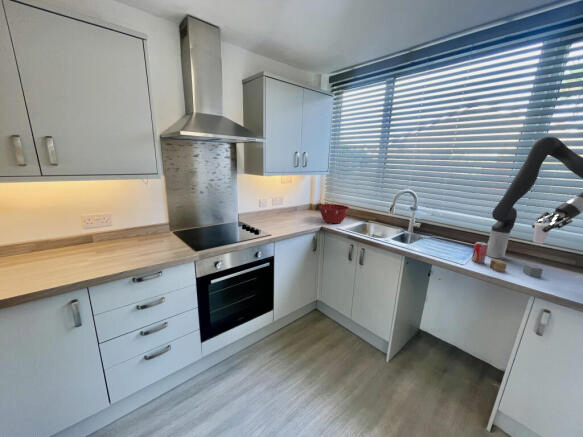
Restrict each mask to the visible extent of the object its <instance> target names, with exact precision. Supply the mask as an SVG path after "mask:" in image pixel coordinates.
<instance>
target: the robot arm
mask: <svg viewBox="0 0 583 437" xmlns="http://www.w3.org/2000/svg"><path fill="white" fill-rule="evenodd" d="M548 156H549V157H552V158H555V159H556V160H558V161H559V162H560V163H562V164H563V165H564V166H565V167H566V168H567V169H568V170H569V171H570V172H571V173H573V174H574V175H576V176H578V177H579V178H581V179H582V180H583V157H582V156H581V155H579V154H577V153H576V152H575V151H573V150H571V149H570V148H569V147H568V146H567V145H566V144H565V143H563V142H562V141H561V140H560V139H559V138H558V137H555V136H542V137H539V138H538V139H537V140H535V141H534V143H533V144H532V145H531V148H530V150H529V153H528V154H527V156H526V159H525V161H524V162H523V163H522V165H521V167H520V168H519V169H518V172H517V173H516V175H515V177H514V178H513V180H512V181H511V183H510V184H509V187H508V188H507V190H506V192H505V193H504V195H503V197H502V198H501V200H500V201H499V202H498V204H496V206H495V207H494V208H493V210H492V213H491V216H492V218H493V219H494V220H495V221H496V223H495V224H493V225H492V226H491V230H490V234H489V239H488V242H487V243H486V244H487V246H488V248H487V252H486V256H487V257H489V258H491V259H496V260H503V259H505V254H506V252H507V247H508V244H509V240H510V235H511V231H512V229H513V228H514V227H515V224H516V220H517V216H518V212H517V209H516V208H515V207H514V206H515V205H516V203H517V202H518V201H519V200H521V199H522V198H523V197H524V196H525V195H526V194H528V193H529V192H530V190H532V187H533V186H534V184H535V183H536V181H537V179H538V176H539V174H540V169H541V166H542V164H543V162H544V161H545V160H546V159H547V157H548ZM554 210H555V211H553V212H551V213H549V211H545V212H543V213H542V214H541V215H540V216H539V217H537V218H536V220H537V221H536V222H535V223H542V220H543V216H545V218H544V222H543V224H549V225H548V226H546V227H544V228H543V229H542V230H543V232H548V231H549V230H550V231H551V230H553V229H562V228H564V227H565V226H567V225H568V224H571V223H573V220H572V219H575V218H576V217H578V216H579V215H580V214H582V213H583V191H582V192H580V193H579V194H577V195H576V196H574V197H572V198H570V199H569V200H567V201H565V202H562V204H561V205H558V206H557V207H556V208H555V209H554ZM535 223H533V224H532V225H531V227H532V229H535V225H534V224H535ZM550 231H549V232H550Z"/></svg>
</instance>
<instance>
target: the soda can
mask: <svg viewBox="0 0 583 437" xmlns="http://www.w3.org/2000/svg"><path fill="white" fill-rule="evenodd" d="M487 244H488V243H487V242H483V241H476V242H475V243H474V248H473V252H472V256H471V260H472V261H473V262H474V263H477V264H483V263H485V262H486V256H487V255H486V252H487V248H488V246H487Z"/></svg>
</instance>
